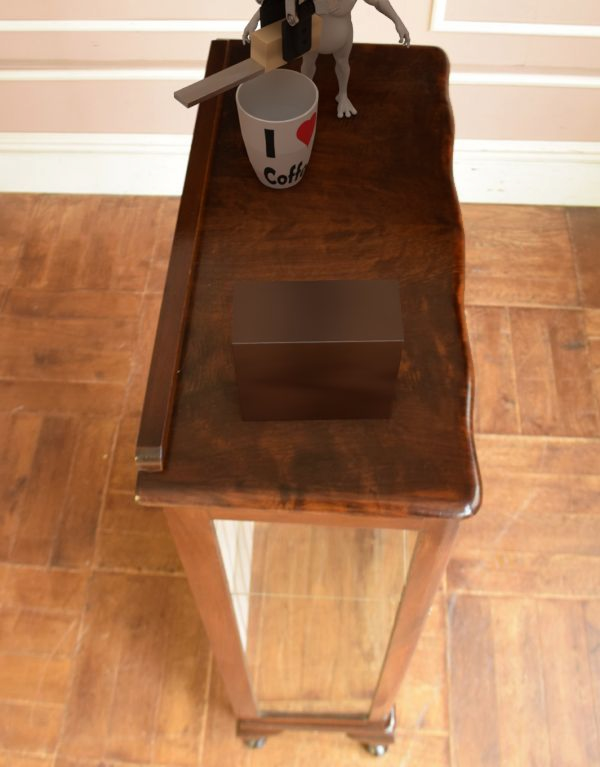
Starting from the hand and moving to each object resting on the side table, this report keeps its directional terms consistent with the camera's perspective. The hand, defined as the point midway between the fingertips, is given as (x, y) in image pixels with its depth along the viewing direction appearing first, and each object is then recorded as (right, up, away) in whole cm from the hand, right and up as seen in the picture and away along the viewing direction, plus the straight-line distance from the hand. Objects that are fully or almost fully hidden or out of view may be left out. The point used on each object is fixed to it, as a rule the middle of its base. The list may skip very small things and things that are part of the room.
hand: (286, 46), depth 73 cm
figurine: (+4, 0, +17) cm, 18 cm away
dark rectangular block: (+3, -32, -3) cm, 33 cm away
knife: (-3, -3, -1) cm, 5 cm away
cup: (-1, -9, +12) cm, 15 cm away
